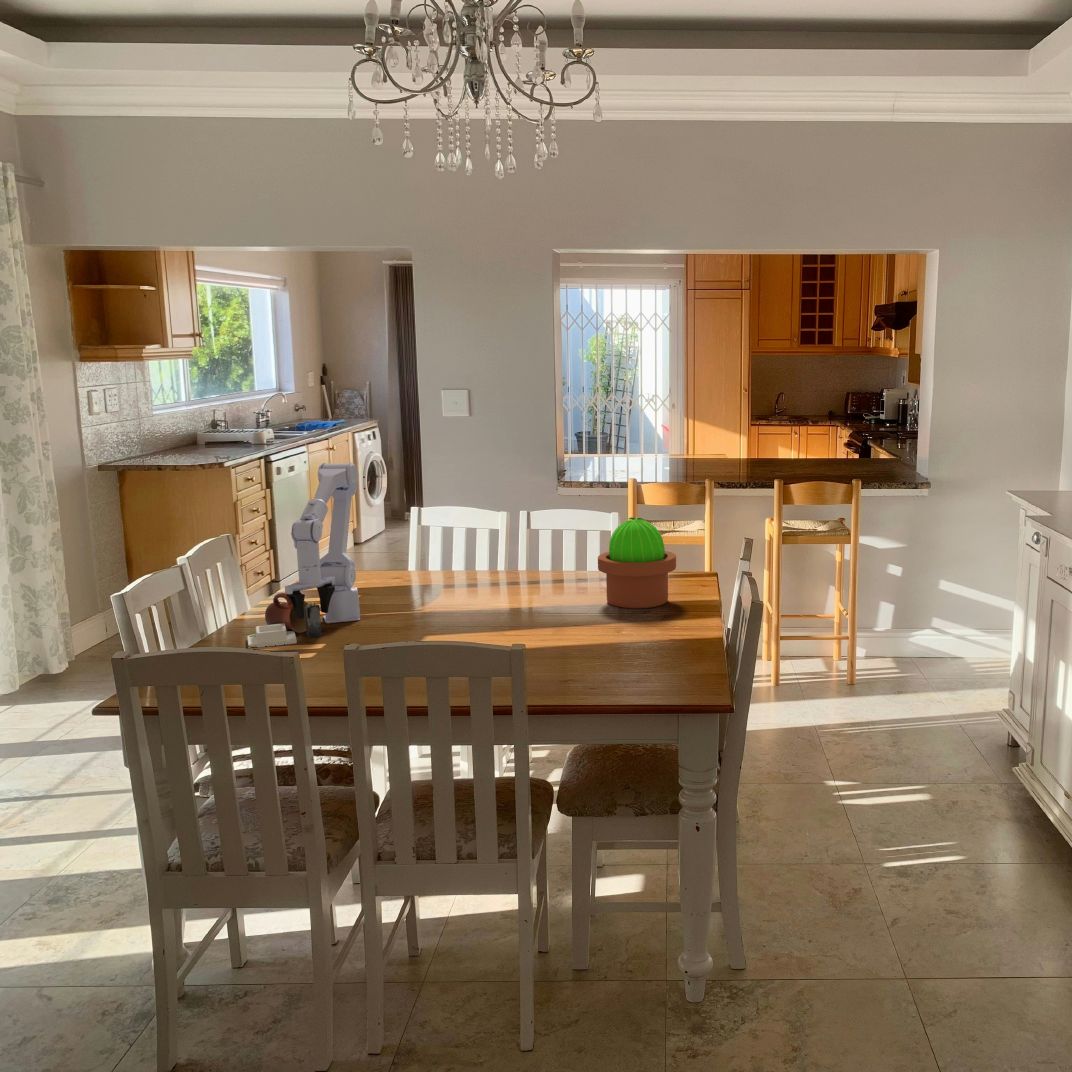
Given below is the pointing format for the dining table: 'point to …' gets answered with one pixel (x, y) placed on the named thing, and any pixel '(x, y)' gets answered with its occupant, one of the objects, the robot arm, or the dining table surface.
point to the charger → (271, 636)
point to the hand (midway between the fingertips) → (312, 615)
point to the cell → (313, 620)
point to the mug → (285, 614)
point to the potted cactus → (637, 566)
